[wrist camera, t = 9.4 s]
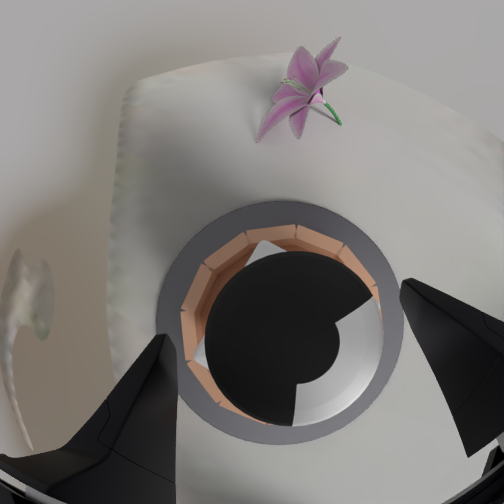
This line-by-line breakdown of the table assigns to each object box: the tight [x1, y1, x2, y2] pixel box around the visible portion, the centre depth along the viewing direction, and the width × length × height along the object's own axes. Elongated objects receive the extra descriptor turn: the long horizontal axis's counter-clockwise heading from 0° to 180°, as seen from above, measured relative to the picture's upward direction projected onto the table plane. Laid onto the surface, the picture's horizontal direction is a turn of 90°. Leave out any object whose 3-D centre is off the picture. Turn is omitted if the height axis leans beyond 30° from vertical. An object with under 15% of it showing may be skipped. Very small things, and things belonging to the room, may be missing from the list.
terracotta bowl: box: [180, 224, 384, 425], centre depth 19 cm, size 14×14×2 cm
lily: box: [256, 37, 348, 143], centre depth 21 cm, size 12×12×10 cm
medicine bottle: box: [193, 240, 383, 426], centre depth 13 cm, size 7×7×12 cm
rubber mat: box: [157, 201, 404, 445], centre depth 20 cm, size 20×20×1 cm
